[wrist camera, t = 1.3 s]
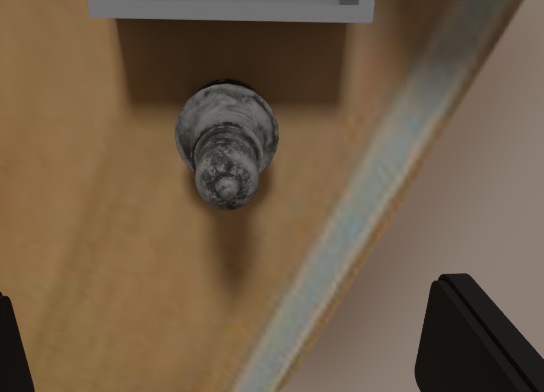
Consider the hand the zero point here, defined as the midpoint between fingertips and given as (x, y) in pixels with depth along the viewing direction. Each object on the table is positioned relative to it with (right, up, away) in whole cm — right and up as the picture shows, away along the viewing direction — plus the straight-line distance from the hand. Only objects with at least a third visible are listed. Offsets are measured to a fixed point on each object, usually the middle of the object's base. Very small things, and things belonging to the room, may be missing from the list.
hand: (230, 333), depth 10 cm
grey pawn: (-2, +8, +18) cm, 20 cm away
